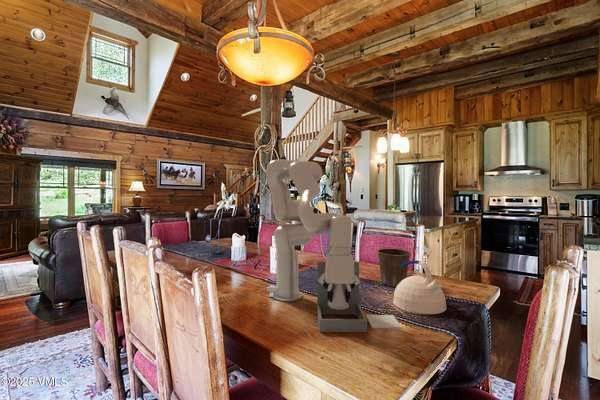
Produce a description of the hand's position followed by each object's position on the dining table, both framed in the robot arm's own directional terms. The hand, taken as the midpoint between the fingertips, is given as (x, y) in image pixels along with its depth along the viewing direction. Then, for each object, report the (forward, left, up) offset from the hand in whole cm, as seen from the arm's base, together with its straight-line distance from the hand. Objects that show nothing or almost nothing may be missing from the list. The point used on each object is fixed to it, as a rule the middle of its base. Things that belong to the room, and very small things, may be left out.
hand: (338, 300), depth 110 cm
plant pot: (+33, +45, -8) cm, 56 cm away
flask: (0, 0, -2) cm, 2 cm away
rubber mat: (+16, -1, -7) cm, 17 cm away
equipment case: (+1, -1, -7) cm, 7 cm away
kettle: (+35, +16, -8) cm, 39 cm away
